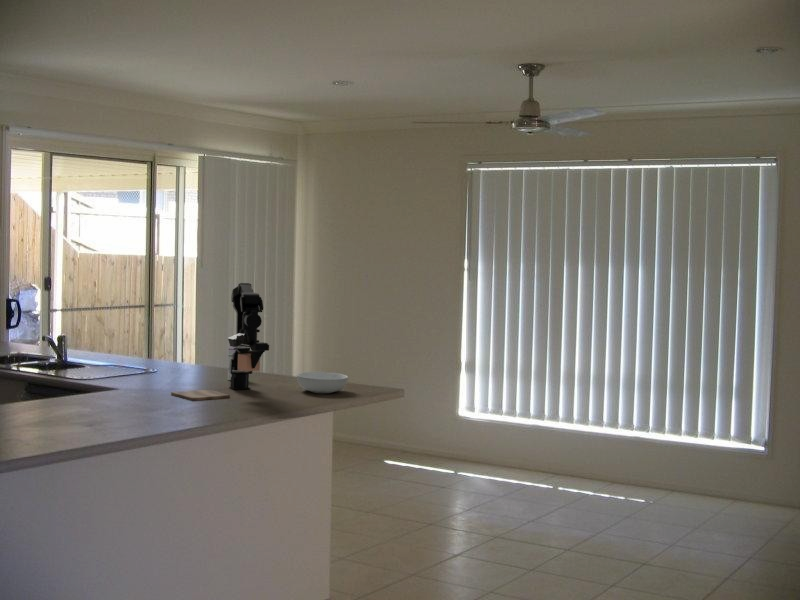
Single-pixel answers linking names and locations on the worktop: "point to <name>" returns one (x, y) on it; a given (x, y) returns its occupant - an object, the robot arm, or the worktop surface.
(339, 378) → the serving bowl
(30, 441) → the worktop surface
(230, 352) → the syrup box
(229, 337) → the robot arm
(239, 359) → the terracotta cube
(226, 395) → the walnut board
